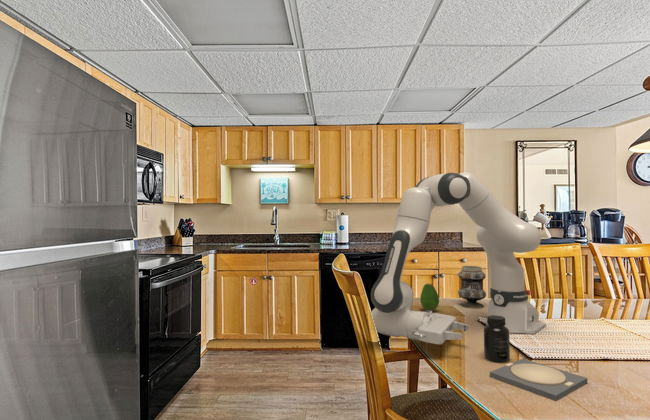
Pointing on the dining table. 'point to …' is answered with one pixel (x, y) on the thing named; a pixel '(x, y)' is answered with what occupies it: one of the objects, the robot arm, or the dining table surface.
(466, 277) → the apothecary jar
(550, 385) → the slate board
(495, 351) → the supplement bottle
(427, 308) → the avocado
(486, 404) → the dining table surface
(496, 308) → the robot arm
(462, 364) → the dining table surface
